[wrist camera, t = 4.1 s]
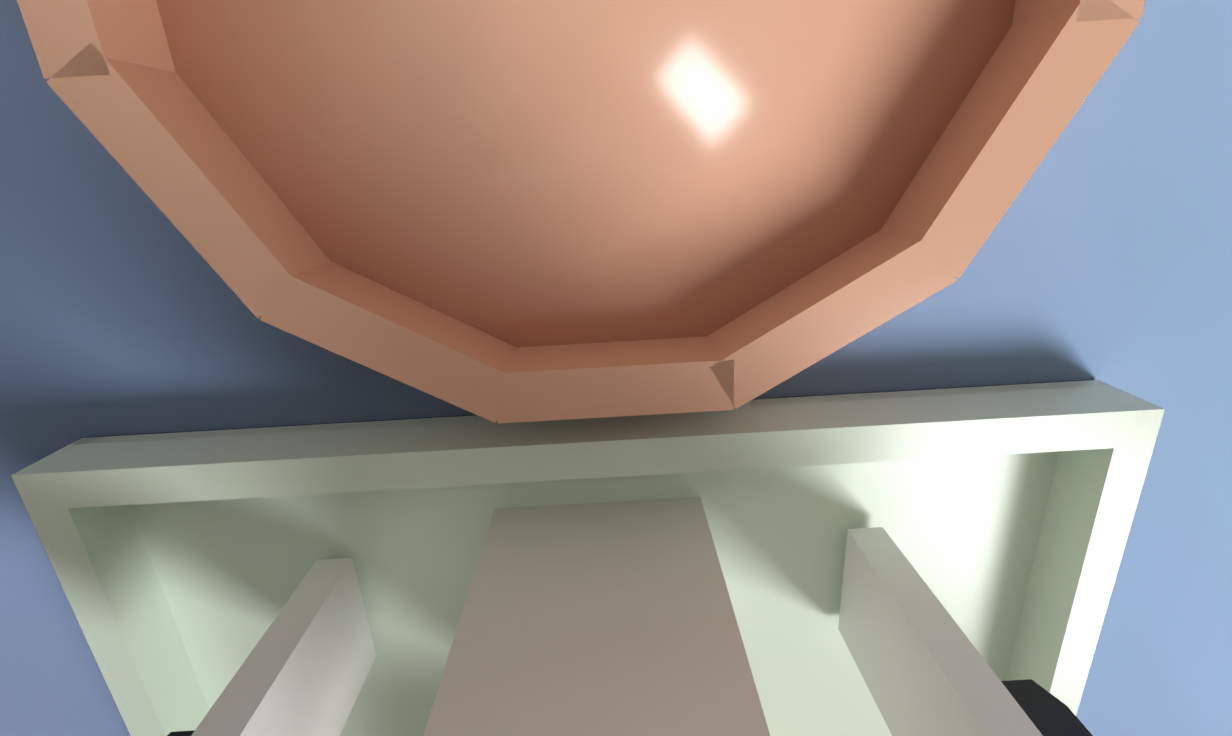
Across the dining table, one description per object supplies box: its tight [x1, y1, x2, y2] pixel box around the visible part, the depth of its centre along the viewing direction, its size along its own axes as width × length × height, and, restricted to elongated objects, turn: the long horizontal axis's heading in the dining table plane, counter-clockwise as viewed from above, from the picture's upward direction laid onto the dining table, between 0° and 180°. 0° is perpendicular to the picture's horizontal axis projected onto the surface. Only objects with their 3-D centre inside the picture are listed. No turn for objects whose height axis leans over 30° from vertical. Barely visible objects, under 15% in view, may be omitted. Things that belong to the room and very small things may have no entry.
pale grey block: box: [423, 497, 770, 736], centre depth 10 cm, size 4×4×6 cm
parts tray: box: [11, 380, 1165, 736], centre depth 14 cm, size 21×16×2 cm
